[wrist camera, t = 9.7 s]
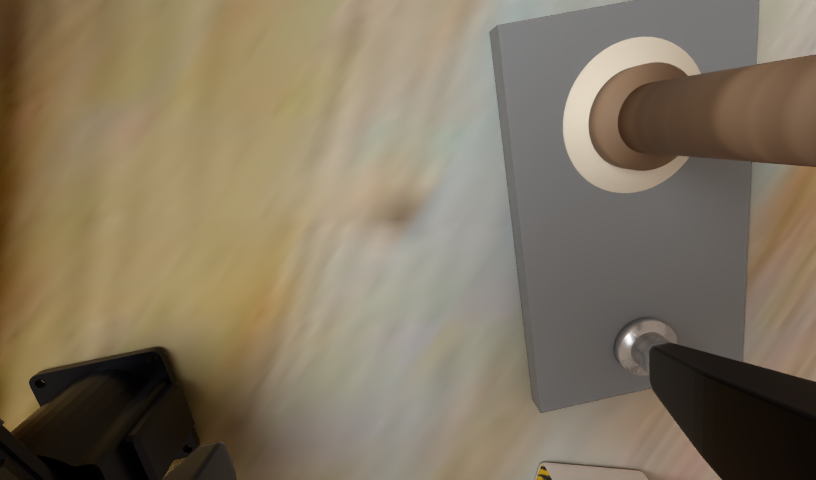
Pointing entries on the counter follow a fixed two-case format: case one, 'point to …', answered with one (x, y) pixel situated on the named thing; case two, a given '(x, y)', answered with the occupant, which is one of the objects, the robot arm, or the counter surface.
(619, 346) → the steel pin
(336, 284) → the counter surface
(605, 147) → the walnut peg
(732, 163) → the board
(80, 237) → the counter surface
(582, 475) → the medicine bottle
